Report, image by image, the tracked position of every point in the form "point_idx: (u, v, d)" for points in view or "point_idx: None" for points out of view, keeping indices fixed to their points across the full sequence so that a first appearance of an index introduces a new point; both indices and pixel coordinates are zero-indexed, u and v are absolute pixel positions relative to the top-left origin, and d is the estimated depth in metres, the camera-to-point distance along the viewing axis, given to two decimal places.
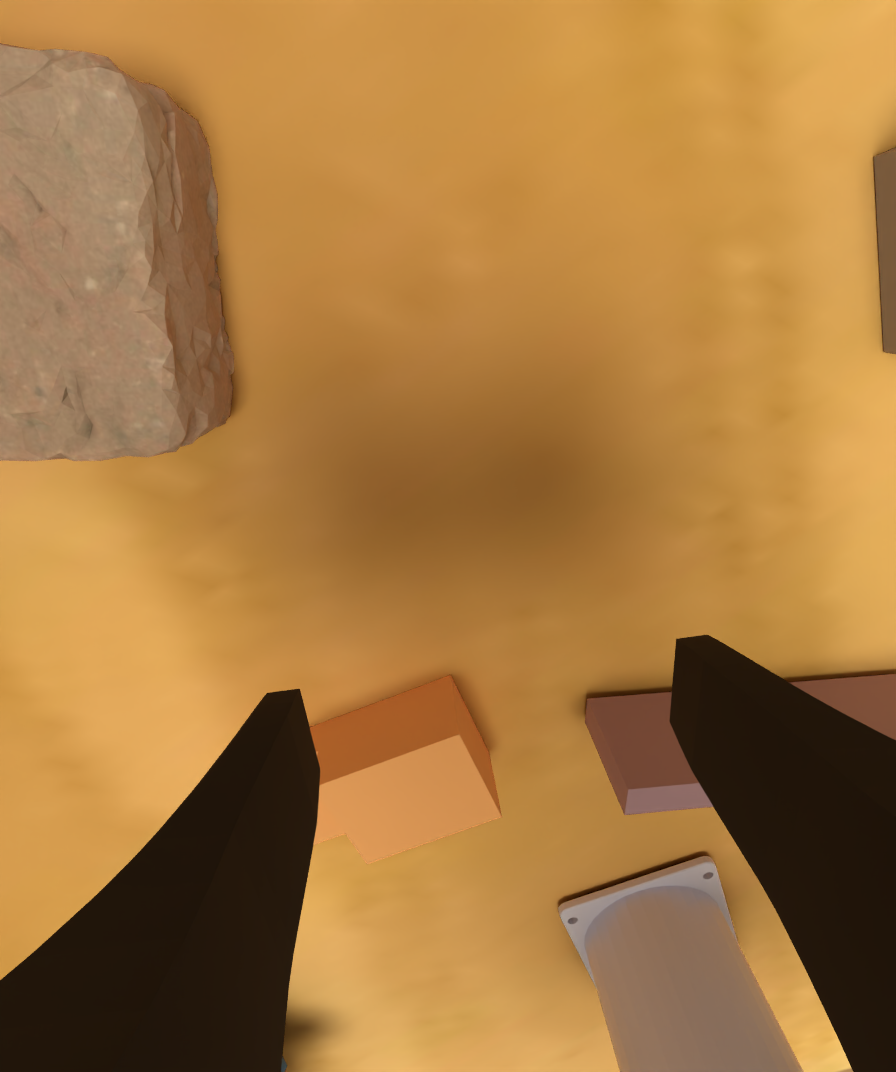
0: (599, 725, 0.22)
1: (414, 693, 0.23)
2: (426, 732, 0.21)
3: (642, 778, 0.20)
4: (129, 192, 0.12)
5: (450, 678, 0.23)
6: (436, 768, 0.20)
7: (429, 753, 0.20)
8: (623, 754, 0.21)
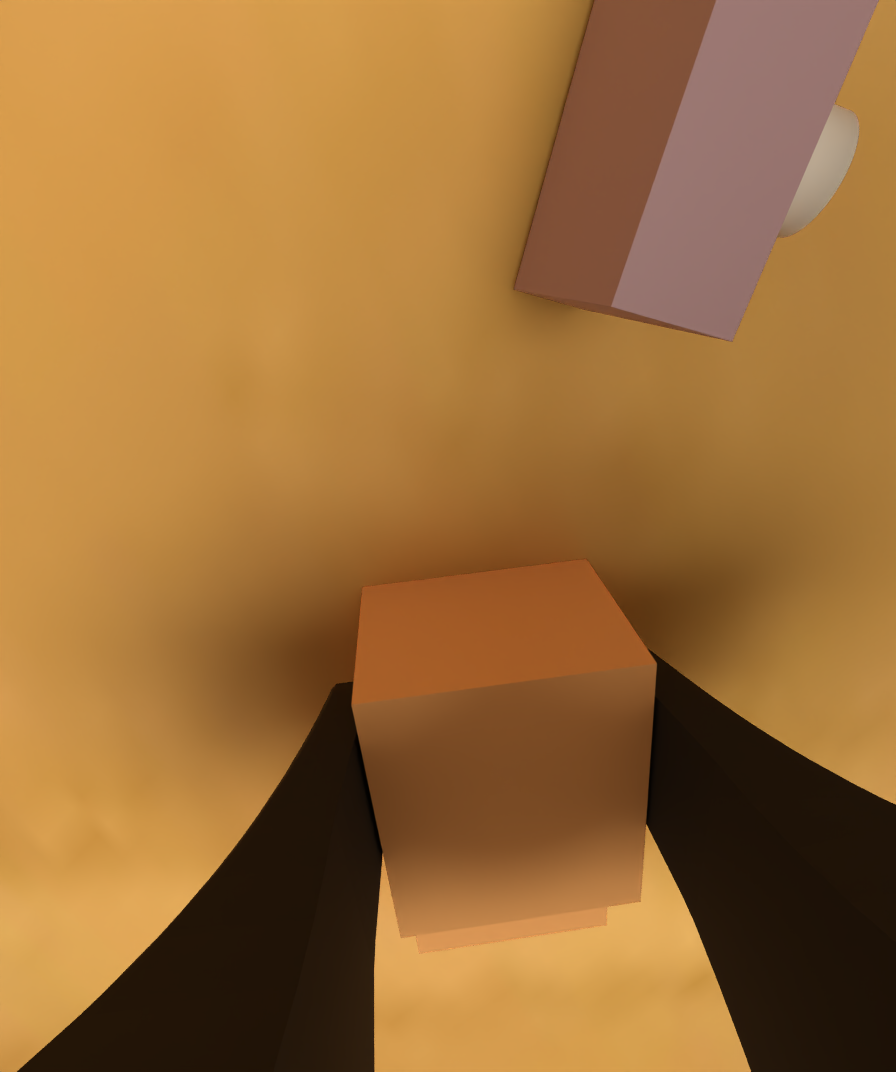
0: (536, 293, 0.08)
1: None
2: None
3: (623, 228, 0.05)
4: None
5: (362, 599, 0.11)
6: (438, 761, 0.09)
7: (387, 765, 0.09)
8: (576, 260, 0.06)
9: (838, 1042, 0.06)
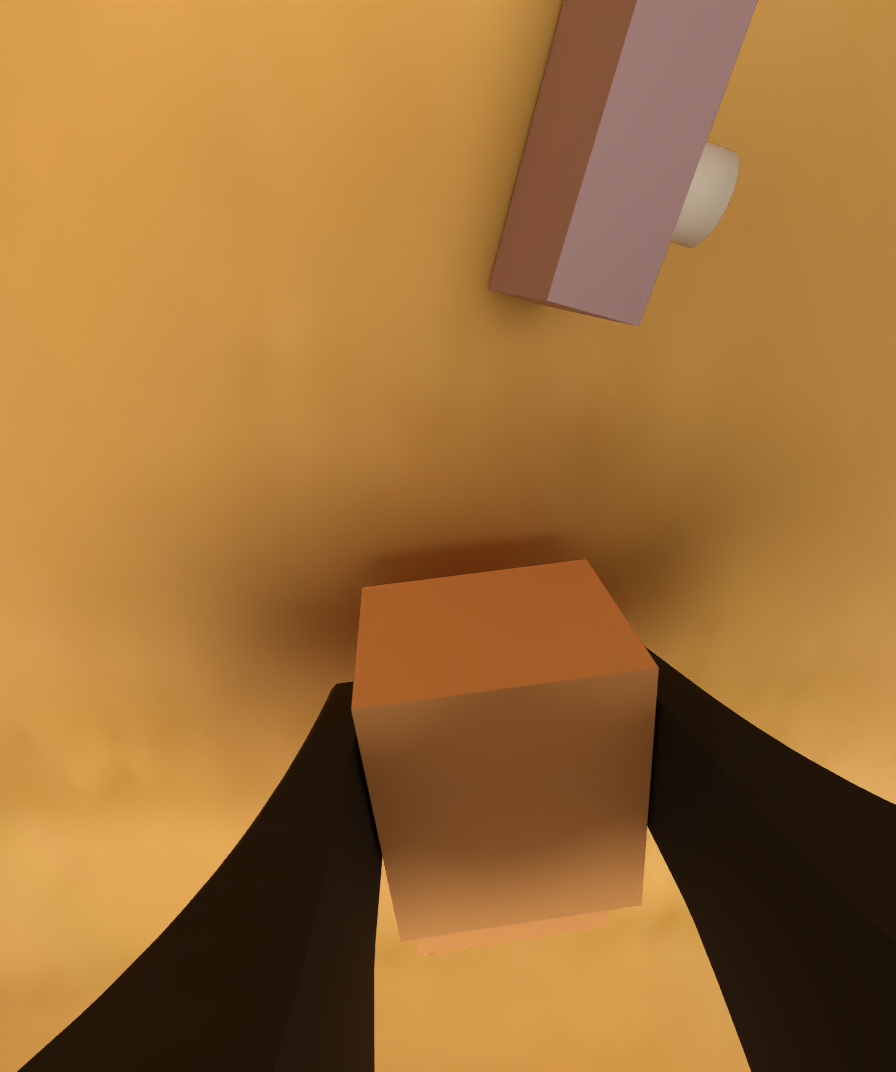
0: (503, 292, 0.10)
1: None
2: None
3: (556, 242, 0.07)
4: None
5: (362, 601, 0.11)
6: (438, 765, 0.09)
7: (388, 769, 0.09)
8: (528, 266, 0.08)
9: (838, 1042, 0.06)
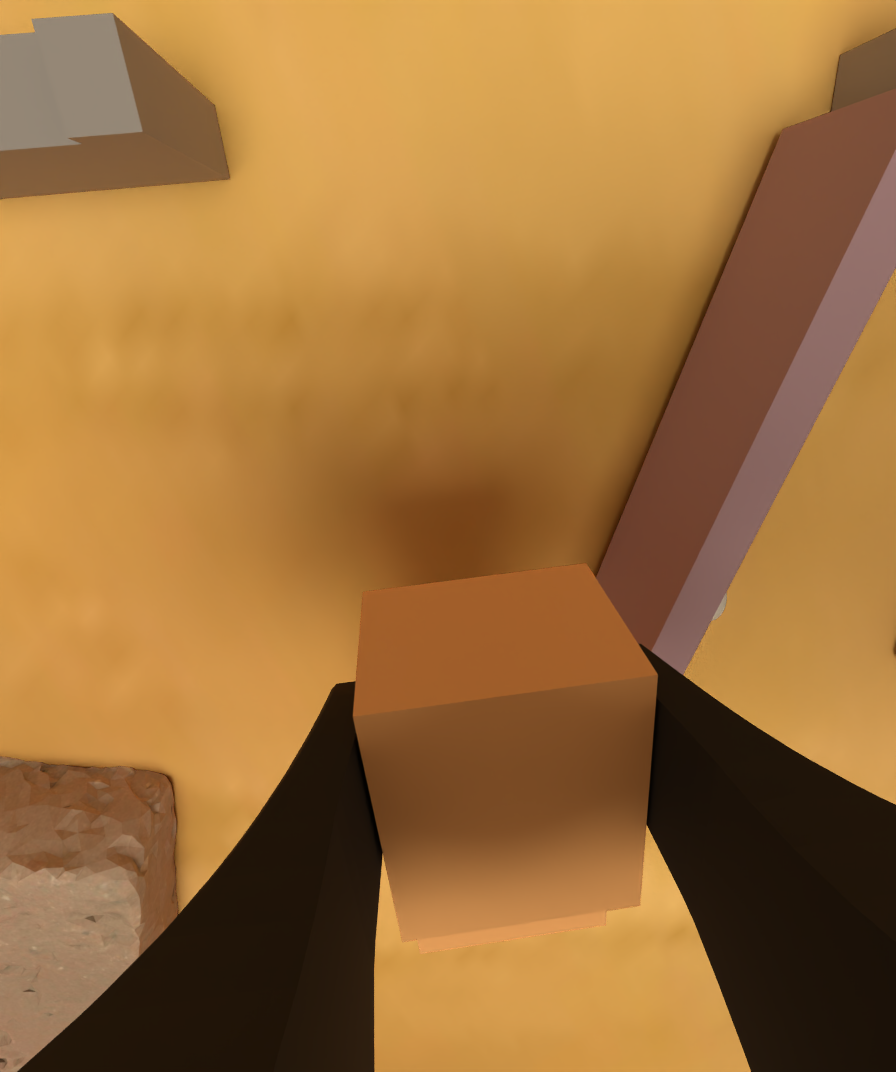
0: None
1: None
2: None
3: (645, 643, 0.16)
4: None
5: (363, 606, 0.11)
6: (439, 770, 0.09)
7: (388, 774, 0.09)
8: None
9: (838, 1042, 0.06)
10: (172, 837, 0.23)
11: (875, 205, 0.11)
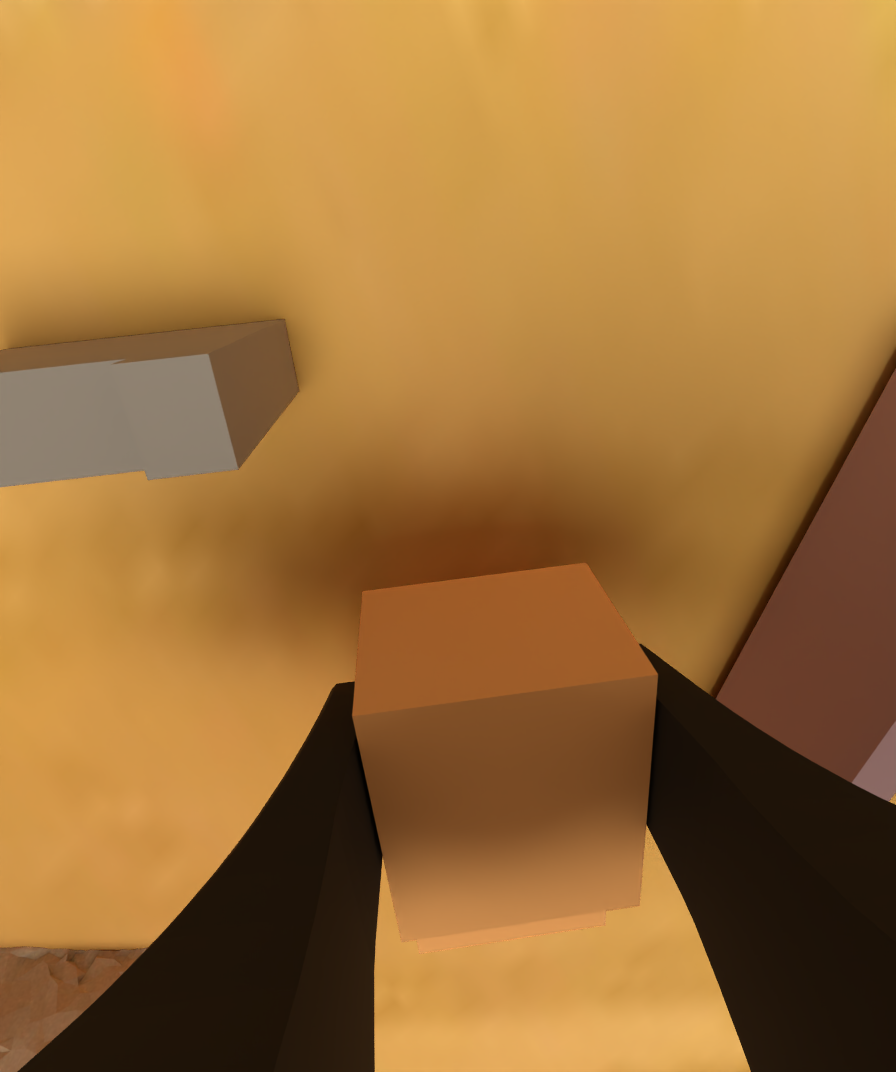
0: None
1: None
2: None
3: None
4: None
5: (362, 605, 0.11)
6: (438, 770, 0.09)
7: (388, 774, 0.09)
8: None
9: (837, 1042, 0.06)
10: None
11: None
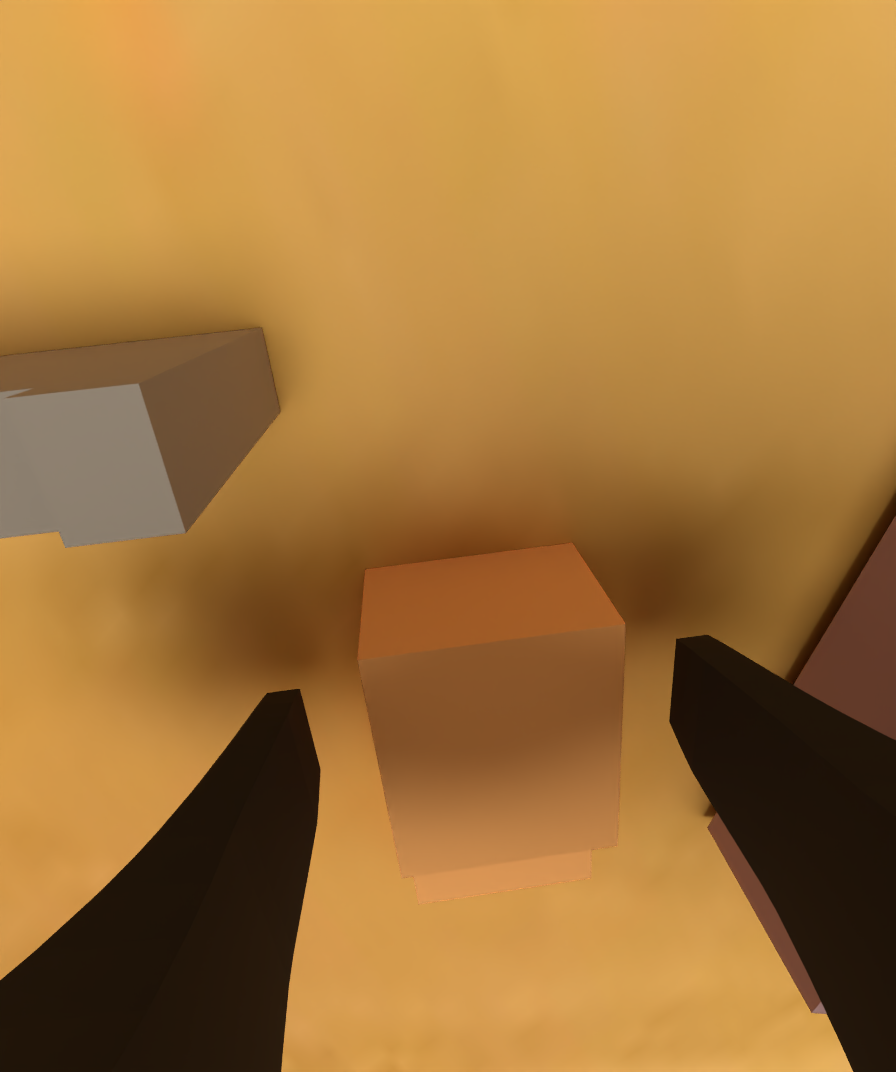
0: (736, 878, 0.15)
1: None
2: None
3: None
4: None
5: (366, 574, 0.12)
6: (434, 712, 0.10)
7: (389, 715, 0.10)
8: (777, 928, 0.13)
9: None
10: None
11: None
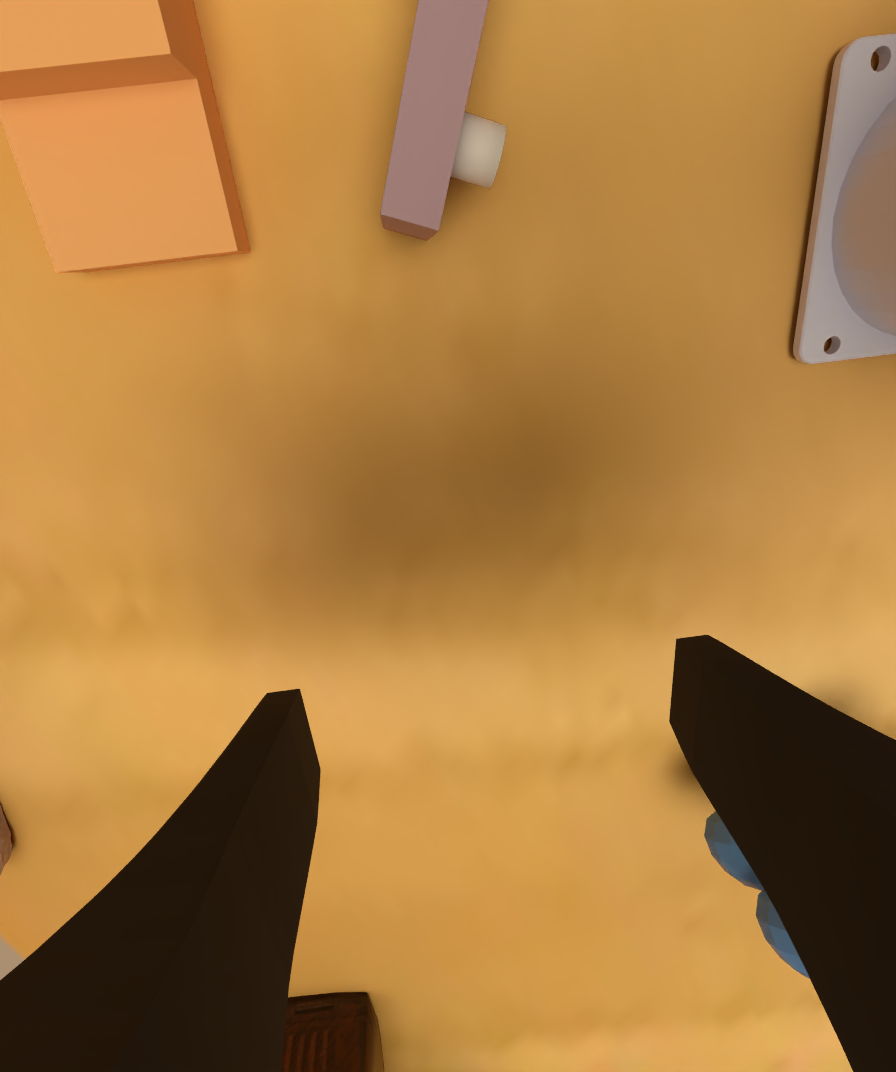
0: (383, 224, 0.14)
1: None
2: None
3: None
4: None
5: None
6: None
7: None
8: None
9: None
10: None
11: None
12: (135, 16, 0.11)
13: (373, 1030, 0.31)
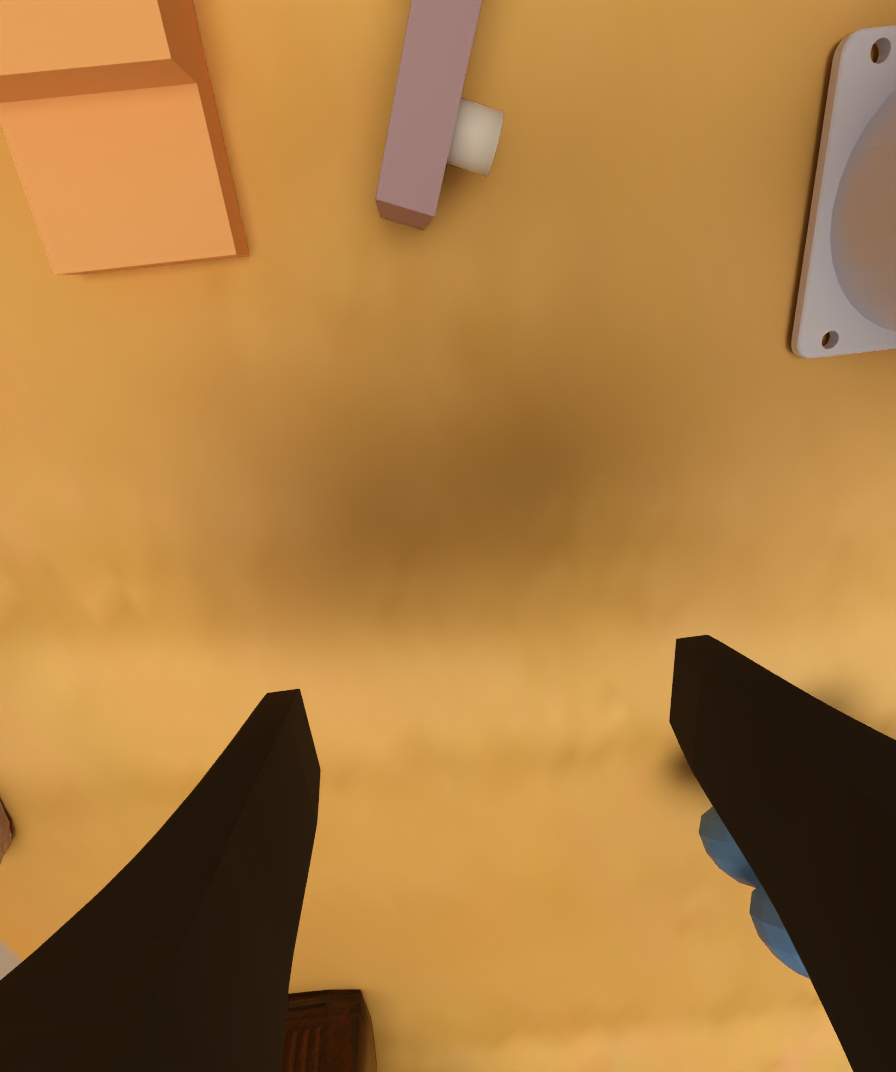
0: (379, 212, 0.14)
1: None
2: None
3: None
4: None
5: None
6: None
7: None
8: None
9: None
10: None
11: None
12: (136, 21, 0.11)
13: (366, 1028, 0.30)
